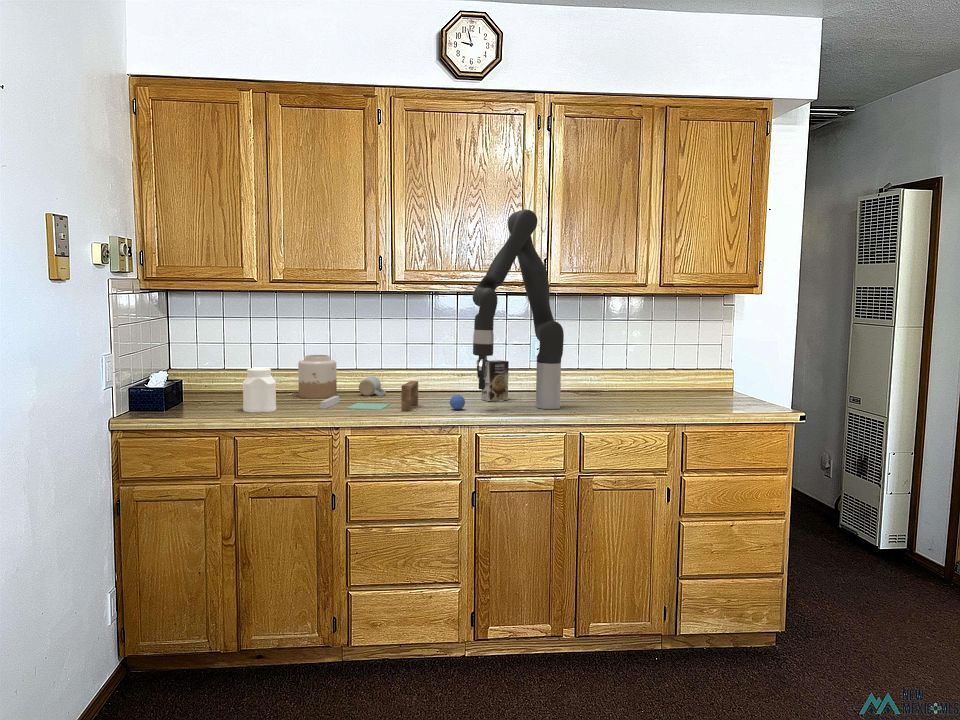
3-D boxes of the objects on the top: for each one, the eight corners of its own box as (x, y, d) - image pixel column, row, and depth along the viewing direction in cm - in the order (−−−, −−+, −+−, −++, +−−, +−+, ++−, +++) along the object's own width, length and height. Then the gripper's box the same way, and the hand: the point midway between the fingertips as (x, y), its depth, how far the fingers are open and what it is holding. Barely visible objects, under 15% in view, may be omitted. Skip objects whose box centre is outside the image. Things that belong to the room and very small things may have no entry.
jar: (241, 412, 264) (241, 370, 262) (244, 408, 273) (243, 367, 272) (275, 412, 266) (274, 370, 265) (277, 407, 275) (276, 367, 274)
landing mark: (389, 404, 286) (389, 404, 286) (380, 409, 273) (380, 409, 273) (357, 403, 288) (357, 402, 288) (346, 408, 275) (346, 408, 275)
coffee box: (490, 402, 295) (490, 361, 294) (481, 400, 300) (481, 360, 299) (508, 400, 300) (509, 360, 299) (499, 398, 305) (500, 359, 304)
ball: (465, 408, 278) (466, 393, 278) (463, 411, 273) (463, 396, 272) (451, 408, 279) (451, 393, 279) (448, 410, 274) (448, 395, 273)
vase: (304, 393, 314) (304, 353, 313) (340, 394, 313) (340, 354, 312) (293, 398, 299) (293, 357, 297) (331, 399, 298) (330, 357, 296)
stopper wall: (339, 402, 290) (339, 395, 290) (325, 408, 275) (325, 401, 274) (334, 402, 291) (334, 395, 290) (320, 408, 275) (320, 401, 275)
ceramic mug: (357, 396, 308) (357, 377, 307) (363, 393, 316) (363, 375, 315) (382, 397, 306) (382, 379, 305) (387, 394, 314) (388, 376, 313)
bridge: (418, 405, 285) (418, 381, 285) (409, 411, 271) (409, 386, 270) (410, 404, 286) (410, 380, 285) (401, 411, 271) (401, 385, 271)
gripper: (491, 343, 266) (489, 392, 267) (495, 341, 279) (494, 387, 280) (470, 343, 267) (468, 390, 268) (475, 340, 280) (474, 386, 281)
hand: (481, 389), depth 274 cm, fingers closed
